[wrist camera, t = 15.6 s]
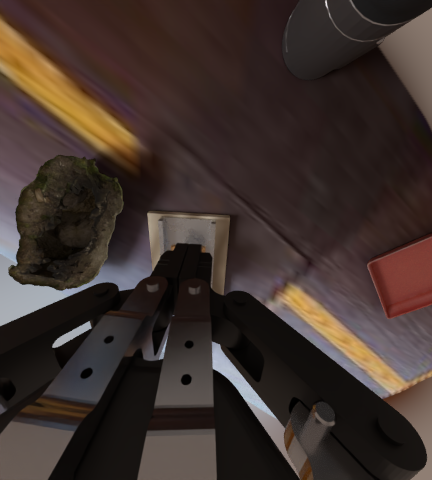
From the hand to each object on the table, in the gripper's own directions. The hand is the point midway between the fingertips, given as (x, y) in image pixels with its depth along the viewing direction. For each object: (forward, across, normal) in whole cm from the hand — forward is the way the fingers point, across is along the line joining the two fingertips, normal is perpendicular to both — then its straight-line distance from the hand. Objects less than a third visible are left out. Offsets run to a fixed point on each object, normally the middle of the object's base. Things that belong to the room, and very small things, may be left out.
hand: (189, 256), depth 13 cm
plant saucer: (+30, -45, +17) cm, 56 cm away
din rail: (+27, +4, +18) cm, 33 cm away
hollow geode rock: (+29, +24, +9) cm, 39 cm away
